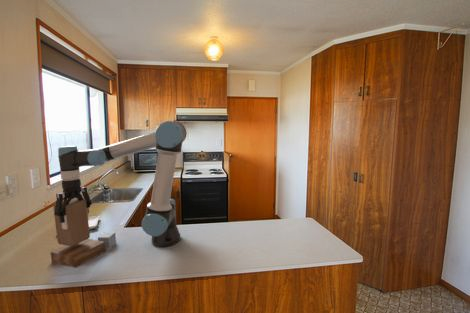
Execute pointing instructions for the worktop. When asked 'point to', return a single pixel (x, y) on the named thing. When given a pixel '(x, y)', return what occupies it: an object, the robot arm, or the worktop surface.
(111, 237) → the slate cube
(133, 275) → the worktop surface
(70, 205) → the block
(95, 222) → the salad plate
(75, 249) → the plinth
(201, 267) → the worktop surface
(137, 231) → the worktop surface
